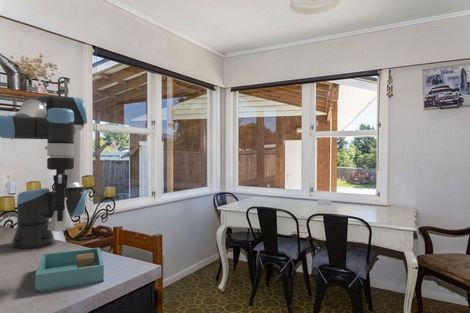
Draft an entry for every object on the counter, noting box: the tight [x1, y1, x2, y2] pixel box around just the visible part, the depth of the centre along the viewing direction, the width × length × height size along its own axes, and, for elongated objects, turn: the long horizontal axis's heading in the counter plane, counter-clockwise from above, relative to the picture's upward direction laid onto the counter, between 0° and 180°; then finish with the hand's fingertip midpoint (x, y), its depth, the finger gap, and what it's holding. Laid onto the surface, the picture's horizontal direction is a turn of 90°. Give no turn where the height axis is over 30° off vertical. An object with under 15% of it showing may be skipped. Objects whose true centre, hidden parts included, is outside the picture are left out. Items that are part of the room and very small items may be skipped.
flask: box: [47, 198, 75, 232], centre depth 101 cm, size 7×7×10 cm
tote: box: [34, 247, 105, 293], centre depth 103 cm, size 20×18×5 cm
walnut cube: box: [77, 253, 94, 268], centre depth 104 cm, size 5×5×5 cm
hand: (60, 228), depth 101 cm, fingers closed on flask, 8 cm apart
